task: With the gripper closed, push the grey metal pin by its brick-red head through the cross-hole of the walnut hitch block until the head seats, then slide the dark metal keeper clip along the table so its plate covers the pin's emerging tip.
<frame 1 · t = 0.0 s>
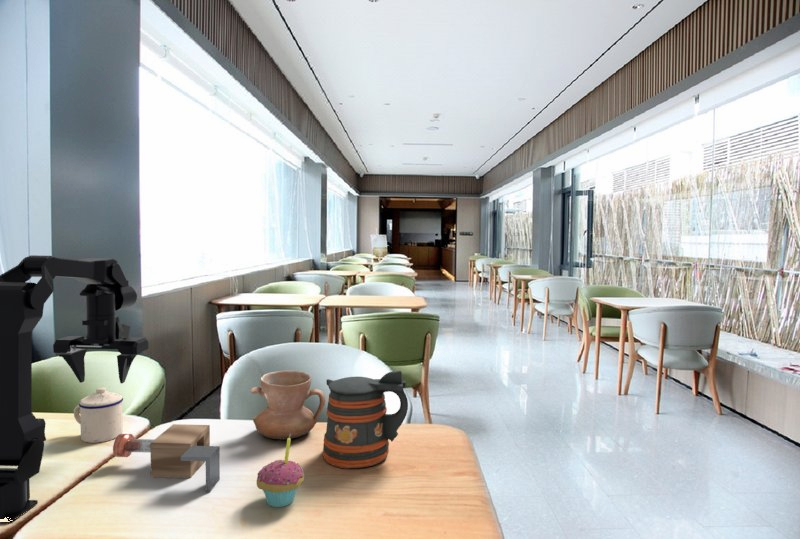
hand: (102, 382, 116), 15 cm above the table, tool pointing down, fingers open, 9 cm apart
hitch block: (181, 466, 107), on the table
keeper clip: (200, 468, 99), point 3 cm above the table, slide at 0.0 cm
cupcake: (280, 502, 94), on the table
teacup with lid: (96, 436, 122), on the table
pin: (152, 445, 107), point 4 cm above the table, slide at 7.0 cm
ceramic jug: (288, 434, 126), on the table
beer stein: (365, 456, 114), on the table
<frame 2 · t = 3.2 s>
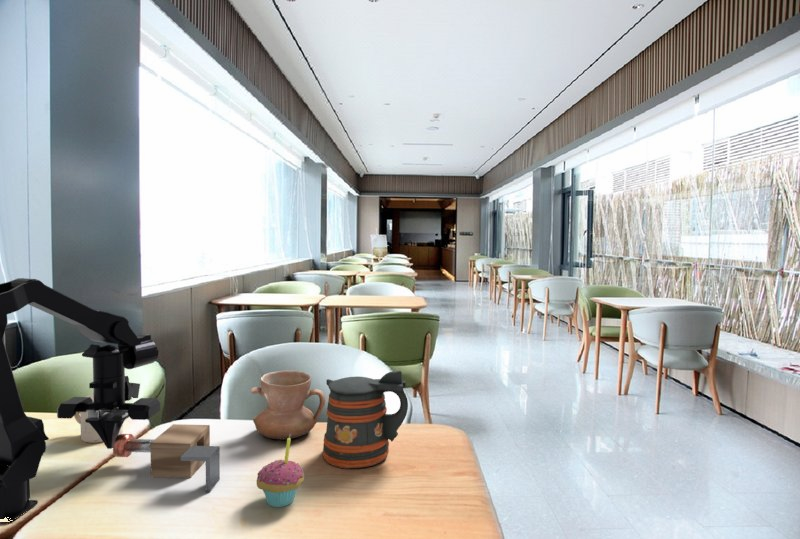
hand: (110, 448, 107), 4 cm above the table, tool pointing down, fingers closed
pin: (152, 445, 107), point 4 cm above the table, slide at 7.0 cm, touching gripper
everything else where it was.
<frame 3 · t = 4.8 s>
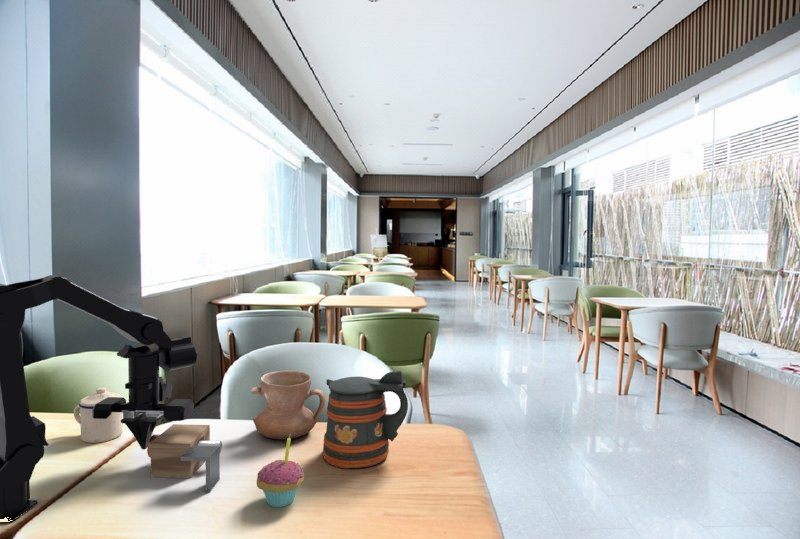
hand: (144, 448, 107), 4 cm above the table, tool pointing down, fingers closed
pin: (186, 446, 107), point 4 cm above the table, slide at -0.1 cm, touching gripper
everything else where it was.
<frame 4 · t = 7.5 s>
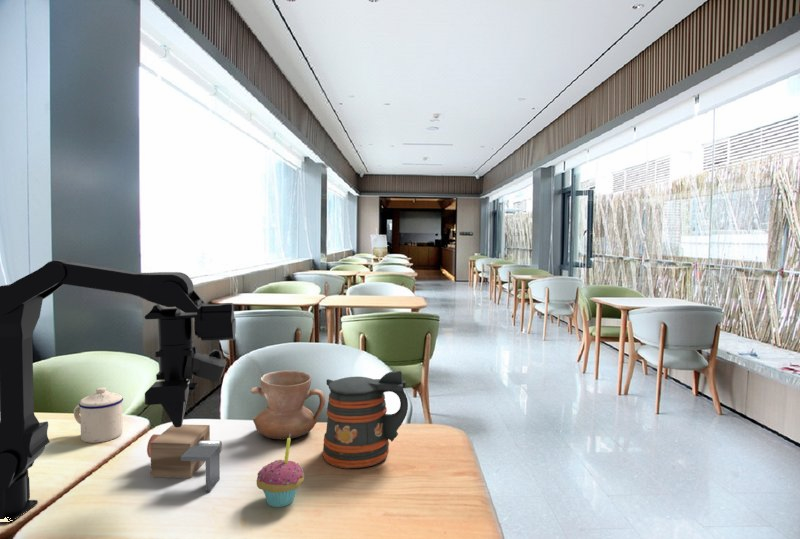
hand: (178, 426, 93), 13 cm above the table, tool pointing down, fingers closed
pin: (186, 446, 107), point 4 cm above the table, slide at 0.0 cm
everything else where it was.
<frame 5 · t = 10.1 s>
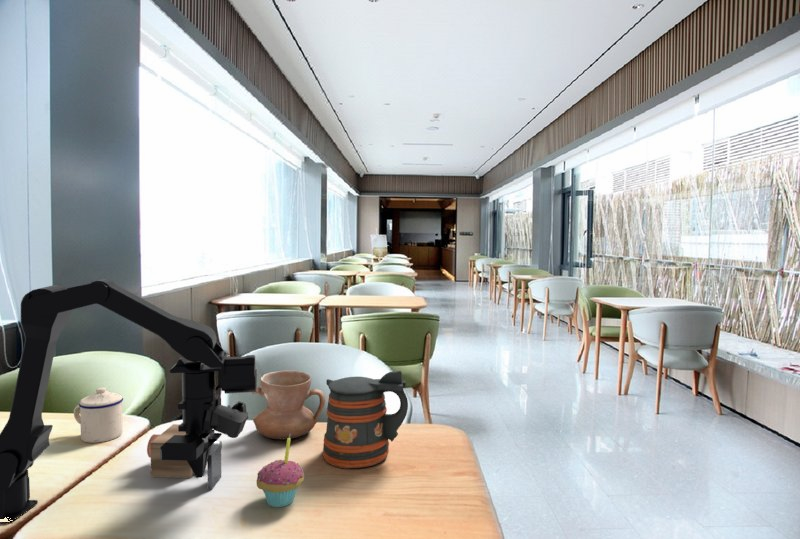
hand: (200, 476, 95), 4 cm above the table, tool pointing down, fingers closed
keeper clip: (202, 466, 100), point 3 cm above the table, slide at 0.9 cm, touching gripper
everything else where it was.
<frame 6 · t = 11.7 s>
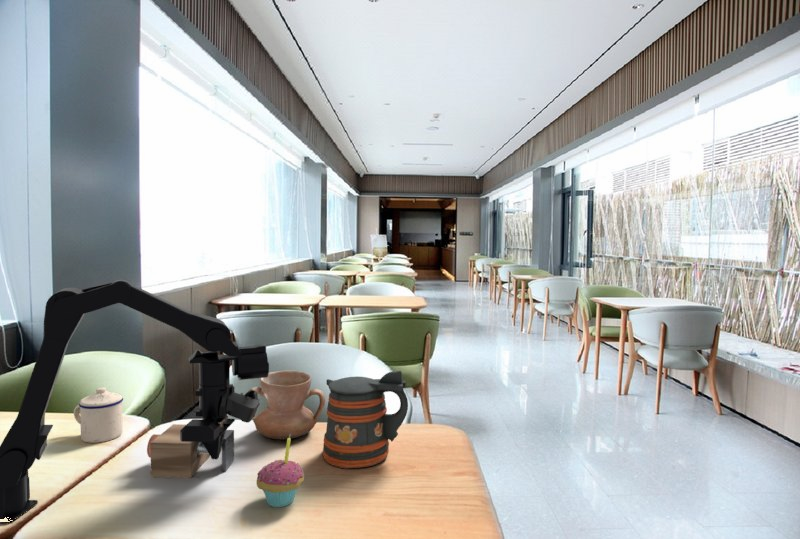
hand: (215, 458, 103), 4 cm above the table, tool pointing down, fingers closed
keeper clip: (216, 449, 107), point 3 cm above the table, slide at 8.5 cm, touching gripper
everything else where it was.
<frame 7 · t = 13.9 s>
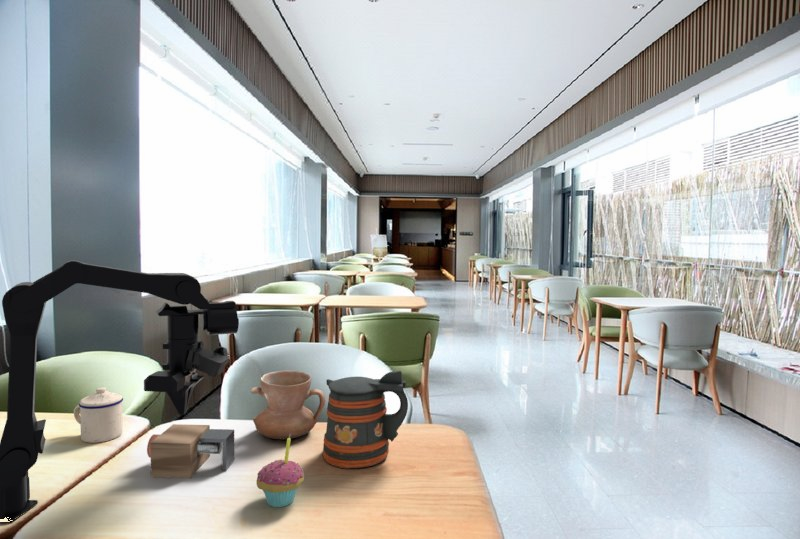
hand: (182, 414, 102), 13 cm above the table, tool pointing down, fingers closed
keeper clip: (217, 449, 107), point 3 cm above the table, slide at 8.7 cm
everything else where it was.
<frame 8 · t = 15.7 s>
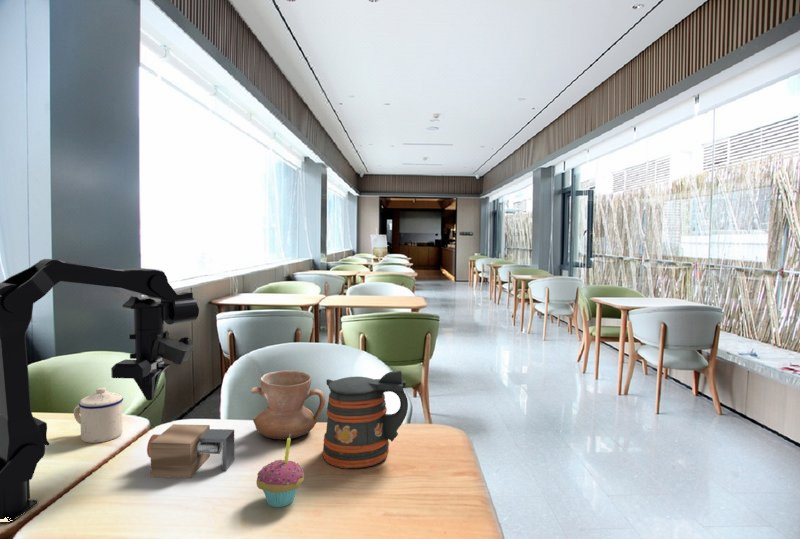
hand: (150, 399, 109), 13 cm above the table, tool pointing down, fingers closed
nothing on the table moved.
at the end: pin slide at 0.0 cm; keeper clip slide at 8.7 cm; keeper clip touching nothing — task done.
